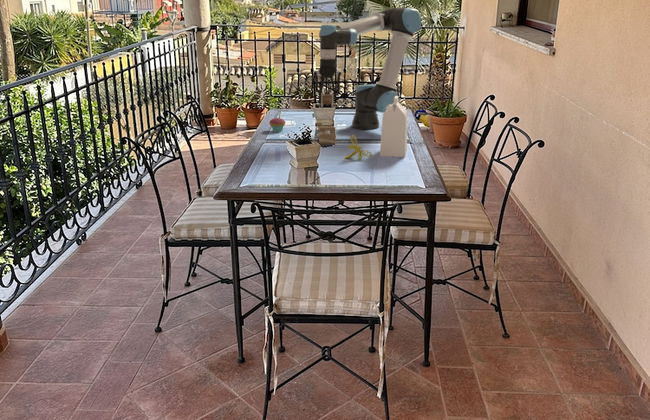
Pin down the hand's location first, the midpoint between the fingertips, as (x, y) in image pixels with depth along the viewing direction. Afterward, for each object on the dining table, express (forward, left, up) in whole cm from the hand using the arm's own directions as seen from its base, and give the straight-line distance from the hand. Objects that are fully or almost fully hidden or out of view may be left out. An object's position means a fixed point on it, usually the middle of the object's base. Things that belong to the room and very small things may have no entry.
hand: (327, 106), depth 286 cm
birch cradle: (0, +1, -17) cm, 17 cm away
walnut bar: (0, +1, +2) cm, 2 cm away
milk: (-31, +25, -17) cm, 43 cm away
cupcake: (+27, -18, -17) cm, 37 cm away
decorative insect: (-14, +36, -17) cm, 42 cm away
